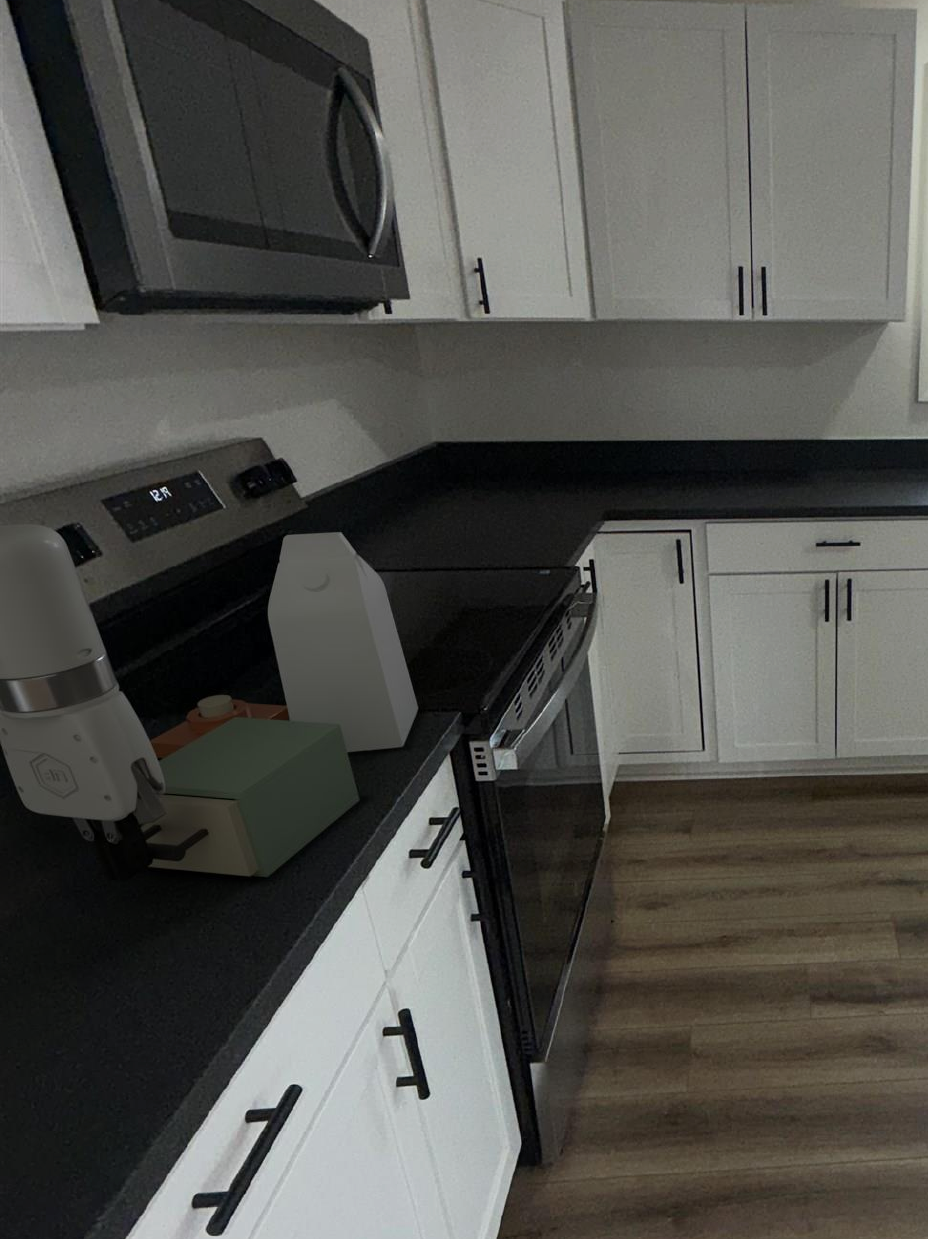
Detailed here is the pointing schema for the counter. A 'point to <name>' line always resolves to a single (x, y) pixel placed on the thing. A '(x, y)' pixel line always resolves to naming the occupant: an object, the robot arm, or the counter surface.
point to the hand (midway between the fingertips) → (131, 871)
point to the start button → (215, 706)
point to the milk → (339, 643)
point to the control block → (212, 725)
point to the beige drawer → (200, 836)
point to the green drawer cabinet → (269, 780)
